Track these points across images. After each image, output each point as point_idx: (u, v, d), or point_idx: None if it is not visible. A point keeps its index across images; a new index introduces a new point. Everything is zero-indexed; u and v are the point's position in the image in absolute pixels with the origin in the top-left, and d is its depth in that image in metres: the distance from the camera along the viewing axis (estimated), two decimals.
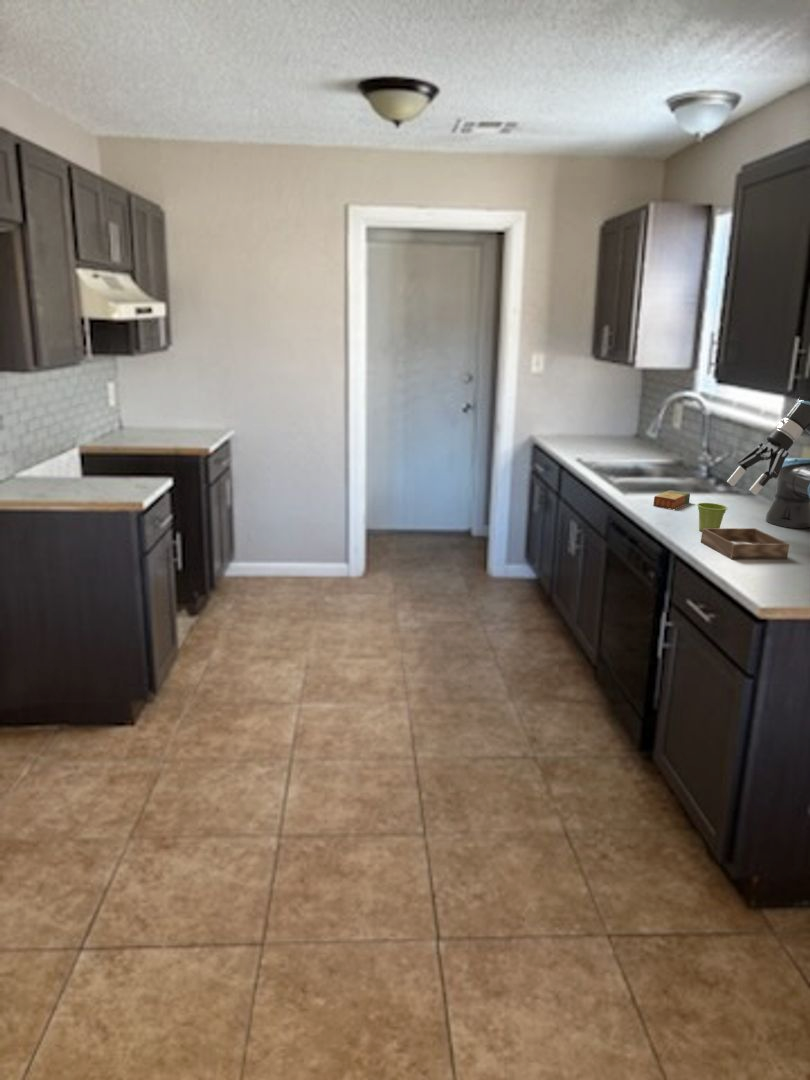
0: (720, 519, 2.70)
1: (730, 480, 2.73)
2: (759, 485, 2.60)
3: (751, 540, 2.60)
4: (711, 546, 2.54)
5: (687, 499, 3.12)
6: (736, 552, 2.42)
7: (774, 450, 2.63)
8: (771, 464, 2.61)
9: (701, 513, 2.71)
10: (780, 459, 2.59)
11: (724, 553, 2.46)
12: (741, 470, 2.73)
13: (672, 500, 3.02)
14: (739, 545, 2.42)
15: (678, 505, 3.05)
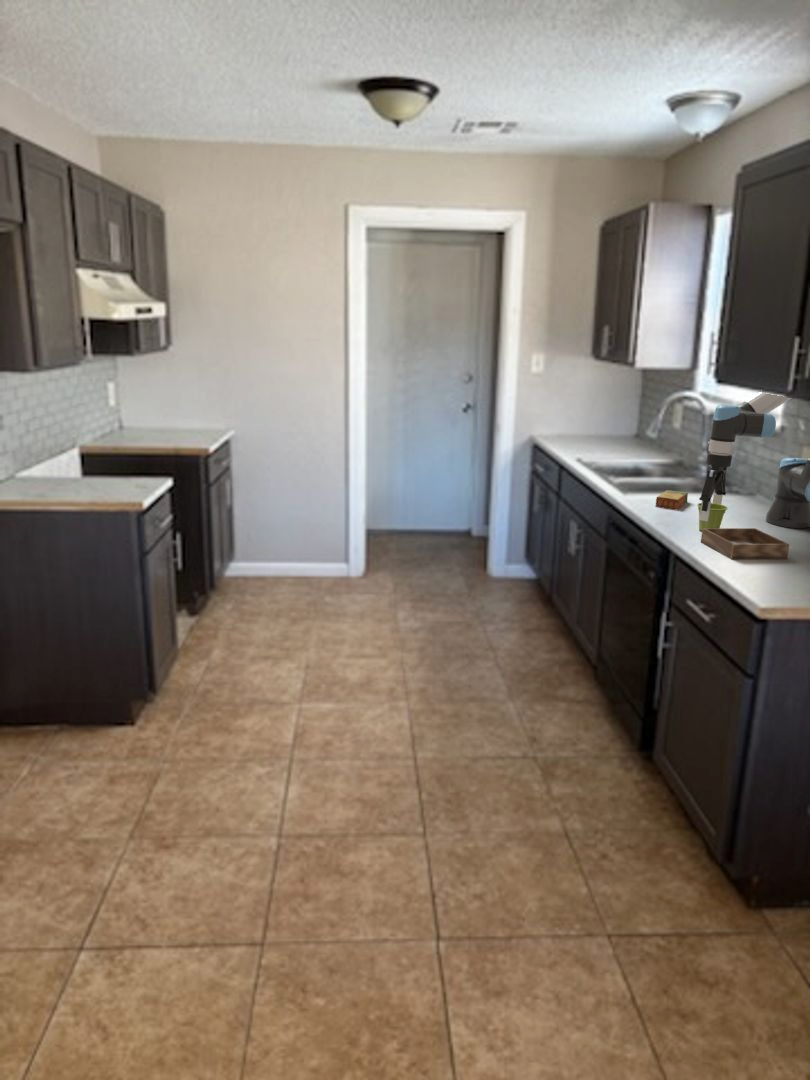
0: (720, 519, 2.70)
1: None
2: (704, 511, 2.66)
3: (751, 540, 2.60)
4: (711, 546, 2.54)
5: (686, 499, 3.13)
6: (736, 552, 2.42)
7: None
8: None
9: None
10: (707, 481, 2.63)
11: (724, 553, 2.46)
12: (717, 497, 2.76)
13: (675, 500, 3.02)
14: (739, 545, 2.42)
15: (680, 505, 3.05)
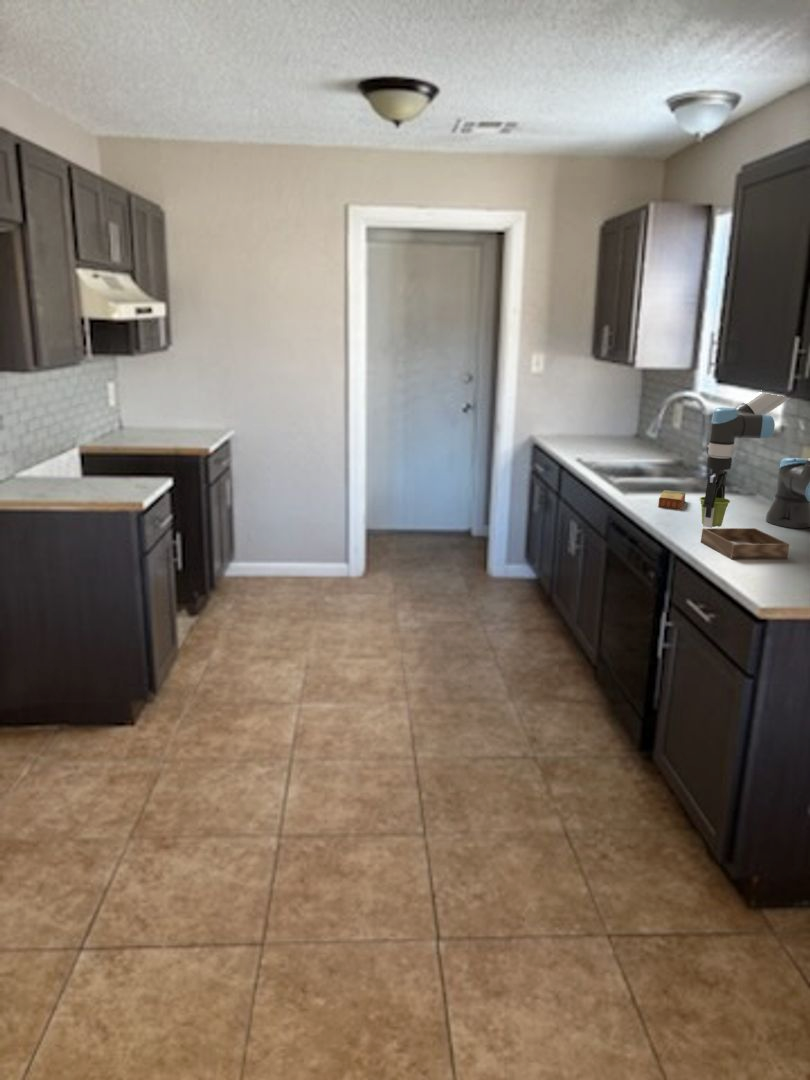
0: (723, 512, 2.69)
1: None
2: (708, 518, 2.68)
3: (751, 540, 2.60)
4: (711, 546, 2.54)
5: (684, 498, 3.13)
6: (736, 552, 2.42)
7: None
8: None
9: (703, 507, 2.70)
10: (708, 488, 2.64)
11: (724, 553, 2.46)
12: None
13: (678, 500, 3.02)
14: (739, 545, 2.42)
15: None
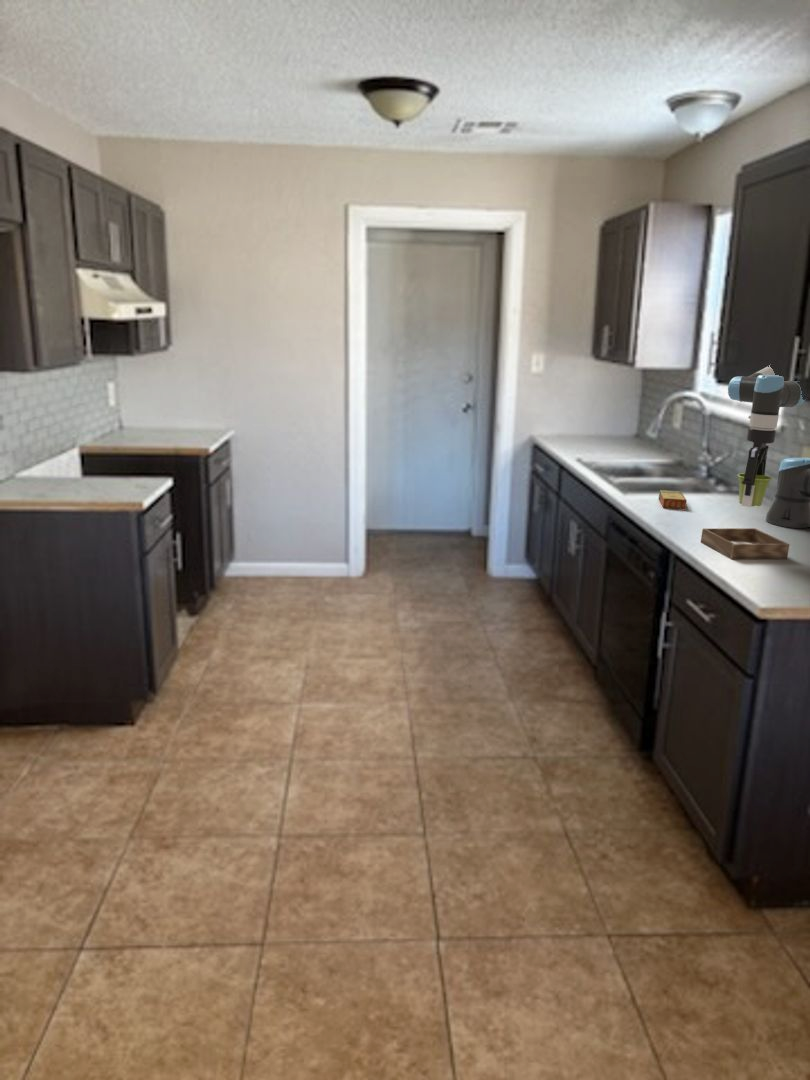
0: (763, 491, 2.45)
1: None
2: (747, 496, 2.44)
3: (751, 540, 2.60)
4: (711, 546, 2.54)
5: None
6: (736, 552, 2.42)
7: None
8: None
9: (742, 484, 2.46)
10: (749, 462, 2.40)
11: (724, 553, 2.46)
12: None
13: (683, 501, 3.02)
14: (739, 545, 2.42)
15: None
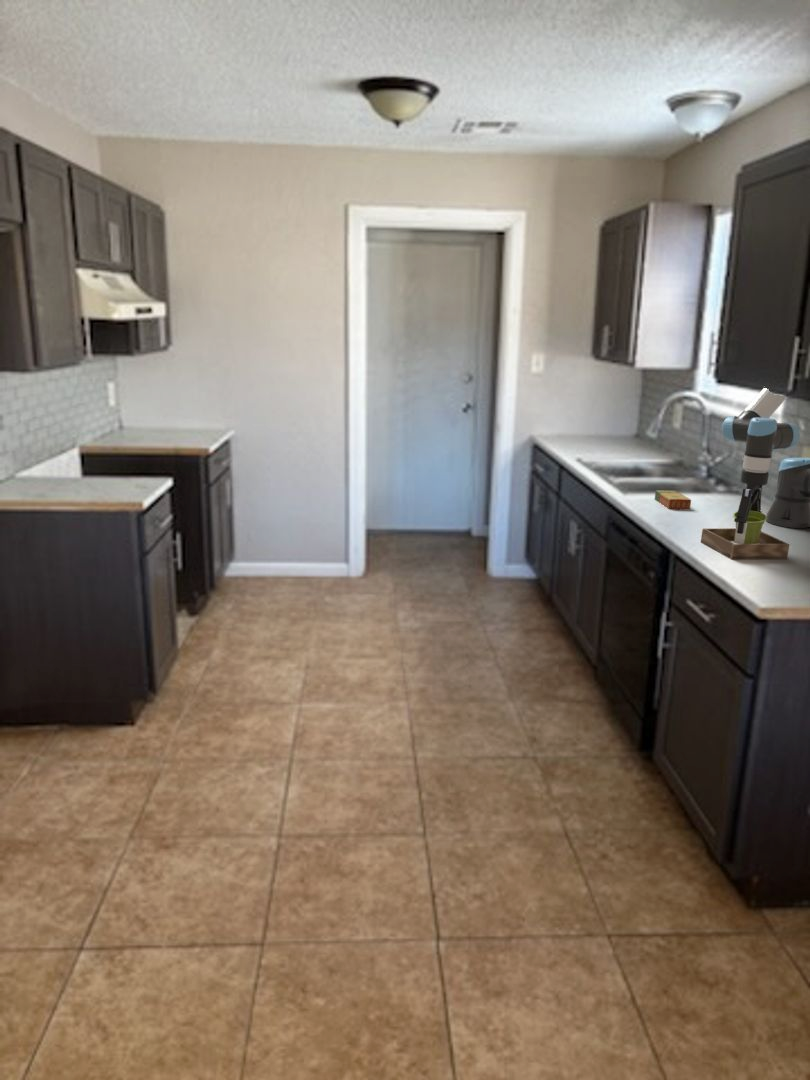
0: (759, 530, 2.50)
1: None
2: (740, 534, 2.45)
3: None
4: (711, 546, 2.54)
5: None
6: (736, 552, 2.42)
7: None
8: None
9: None
10: (743, 501, 2.42)
11: (724, 553, 2.46)
12: None
13: (687, 501, 3.02)
14: (739, 545, 2.42)
15: None
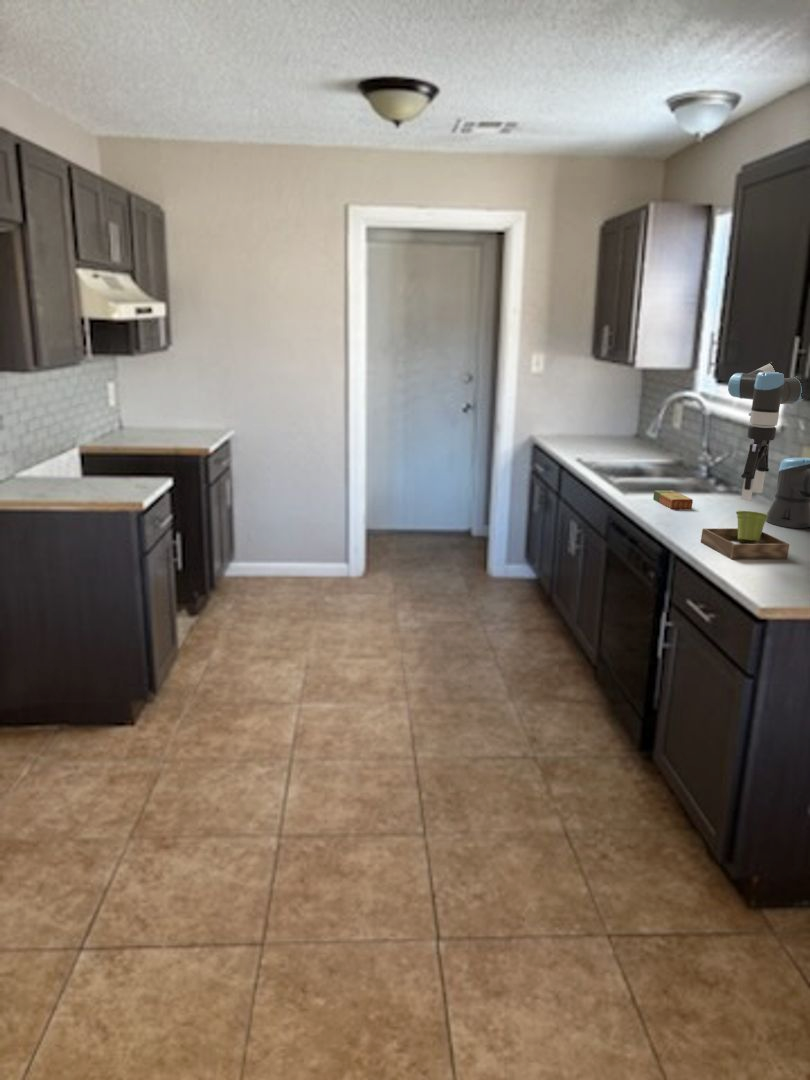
0: (761, 526, 2.53)
1: (754, 489, 2.53)
2: (747, 490, 2.42)
3: None
4: (711, 546, 2.54)
5: None
6: (736, 552, 2.42)
7: None
8: None
9: (741, 519, 2.55)
10: (750, 456, 2.39)
11: (724, 553, 2.46)
12: (759, 474, 2.52)
13: (689, 500, 3.02)
14: (739, 545, 2.42)
15: None
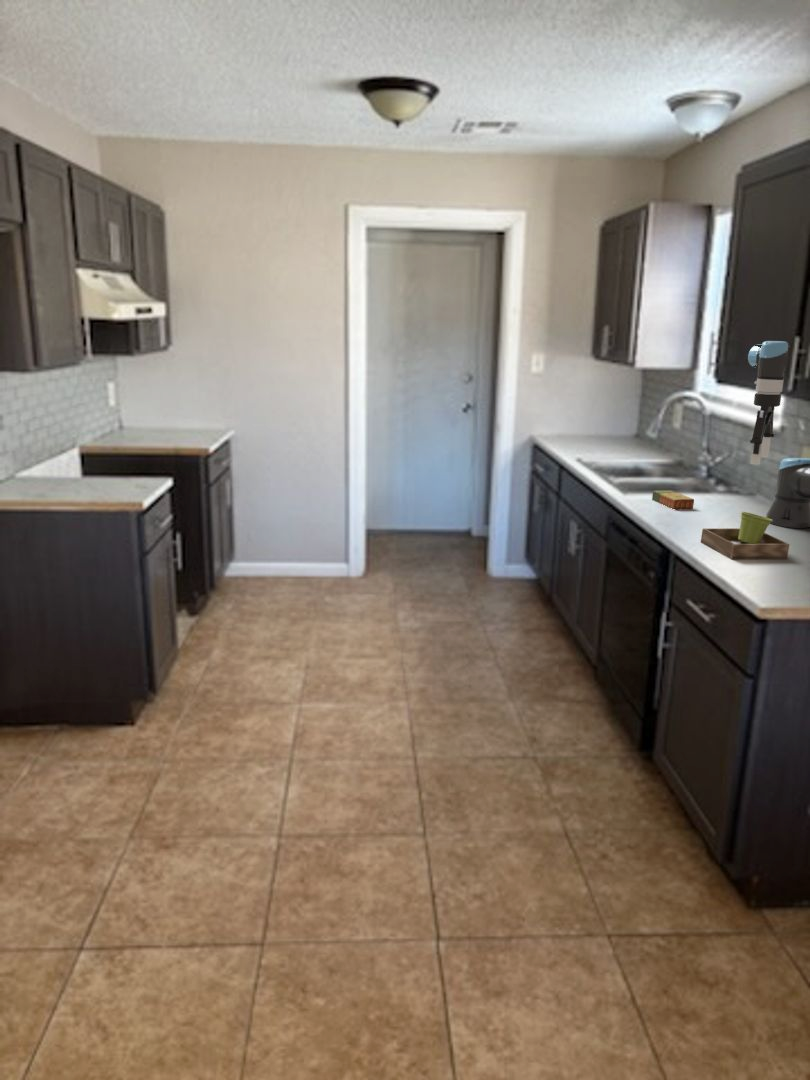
0: (763, 530, 2.52)
1: (760, 454, 2.65)
2: (756, 455, 2.53)
3: None
4: (711, 546, 2.54)
5: None
6: (736, 552, 2.42)
7: None
8: None
9: (744, 521, 2.53)
10: (758, 422, 2.50)
11: (724, 553, 2.46)
12: (765, 440, 2.63)
13: (691, 500, 3.03)
14: (739, 545, 2.42)
15: None
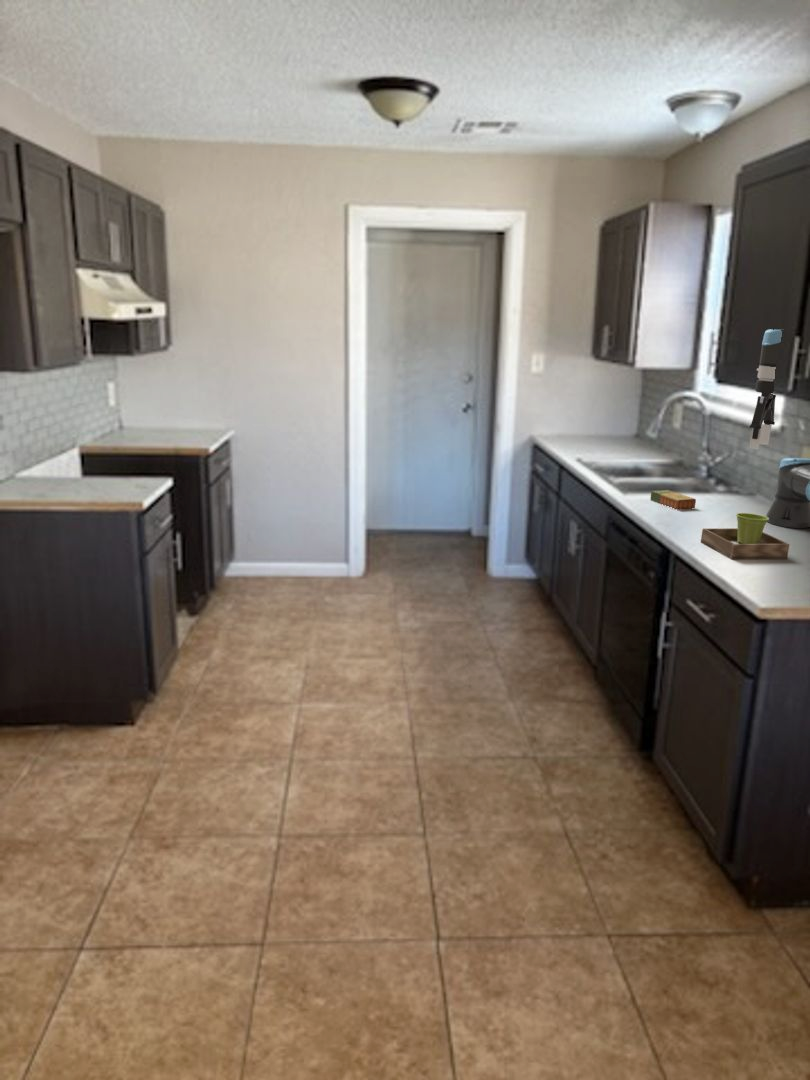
0: (761, 530, 2.52)
1: (761, 441, 2.71)
2: (755, 439, 2.59)
3: None
4: (711, 546, 2.54)
5: None
6: (736, 552, 2.42)
7: None
8: None
9: (740, 524, 2.53)
10: (758, 408, 2.57)
11: (724, 553, 2.46)
12: (766, 427, 2.70)
13: (693, 500, 3.03)
14: (739, 545, 2.42)
15: None
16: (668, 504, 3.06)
